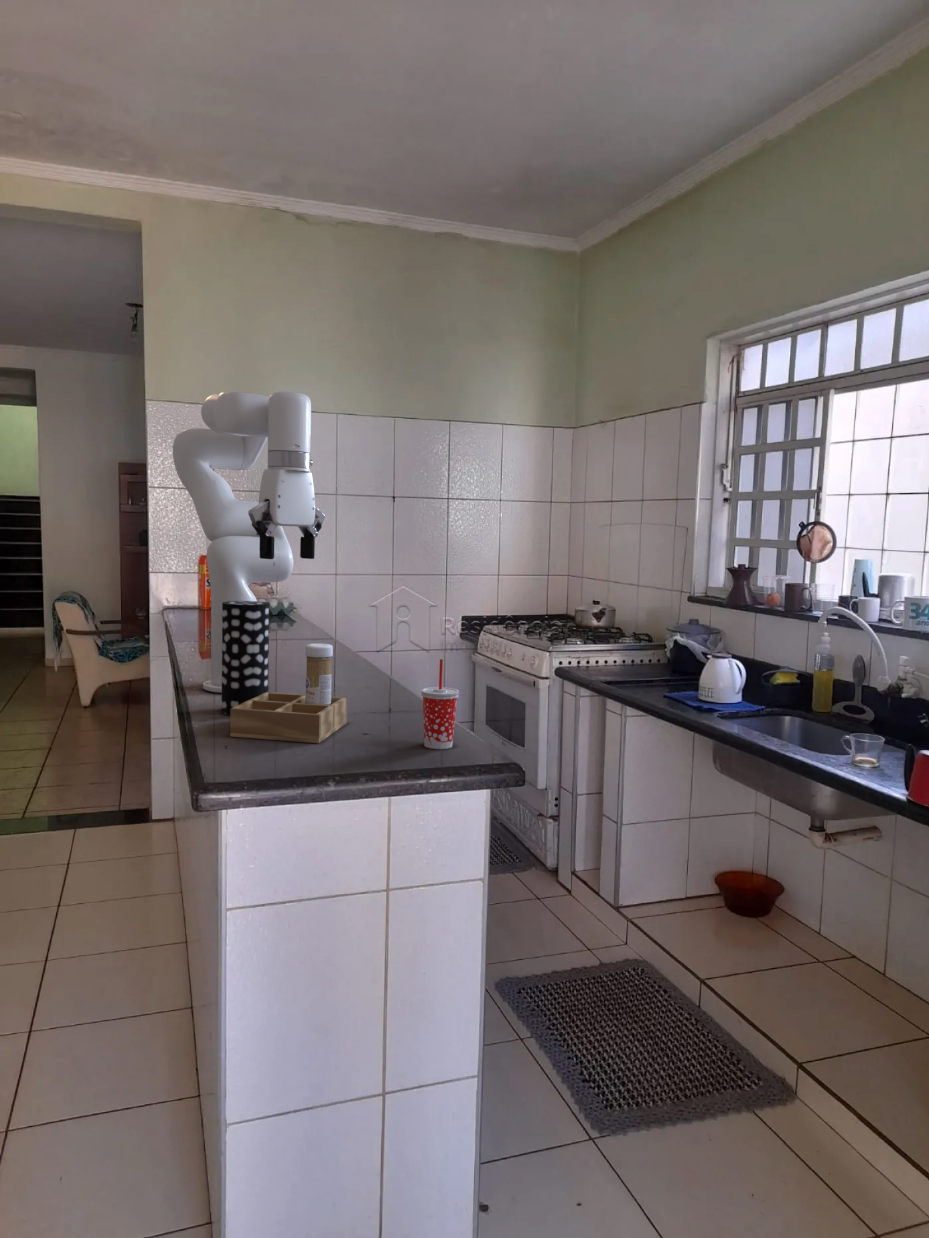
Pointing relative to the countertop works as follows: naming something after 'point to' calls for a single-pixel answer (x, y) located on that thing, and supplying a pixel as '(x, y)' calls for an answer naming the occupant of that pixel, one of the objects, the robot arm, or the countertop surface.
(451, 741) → the beverage cup
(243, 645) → the spotted tube
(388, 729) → the countertop surface
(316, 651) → the sprinkles bottle
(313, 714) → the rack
